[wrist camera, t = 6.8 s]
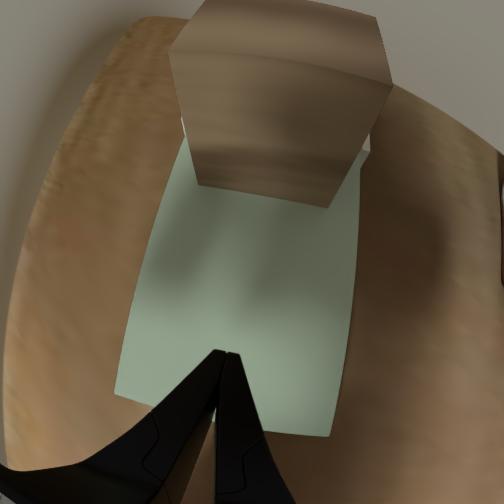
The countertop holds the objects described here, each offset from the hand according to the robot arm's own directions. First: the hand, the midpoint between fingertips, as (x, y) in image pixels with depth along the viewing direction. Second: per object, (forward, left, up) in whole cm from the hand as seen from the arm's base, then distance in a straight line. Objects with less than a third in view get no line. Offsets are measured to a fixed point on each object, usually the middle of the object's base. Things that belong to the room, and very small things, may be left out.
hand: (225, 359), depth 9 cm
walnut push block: (+9, -9, -6) cm, 14 cm away
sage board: (+4, -4, -8) cm, 10 cm away
